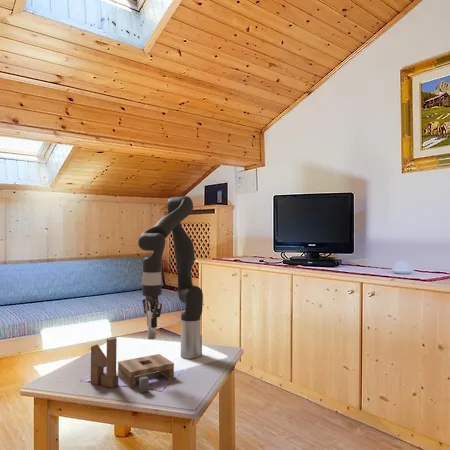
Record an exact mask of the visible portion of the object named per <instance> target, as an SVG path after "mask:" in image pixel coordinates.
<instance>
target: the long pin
mask: <svg viewBox="0 0 450 450" xmlns="http://www.w3.org/2000/svg"><path fill="white" fill-rule="evenodd" d="M153 313H154V312H153ZM156 338H157V327H156V328H151V313H150V312H149V310H148V326H147V340H155V339H156Z"/></svg>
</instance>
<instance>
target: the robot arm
mask: <svg viewBox="0 0 450 450" xmlns="http://www.w3.org/2000/svg"><path fill="white" fill-rule="evenodd" d="M166 204H167V205H166V207H167V213H168V214H166V215H164V216H162V217H161V218H160V219H159V220H158V221H156V223H155V224H154V226H152V227H150V228H148V229H147V230H145V231H144V232H142V233H141V235H140V236H139V238H138V241H137V242H138V247H139V249H140V250H142V251H147V252H148V251H149V252H150V251H151V252H153V253H152V255H150V256H146V257H144V258H143V260H142V277H141V278H142V279H141V281H142V282H141V286H142V287H141V288H142V291H141V292H142V293H141V294H142V295H143V296H144V297H145V298H144V299H142V300H141V301H142V306H143V312H144V315H145V316H146V326H147V327H148V310H149V312H150V313H151V328H156V329H157V327H158V318H160V317H161V313H162V309H163V303H160V301H159V297H160V296H161V295H162V268H161V267H162V259H163V253H164V251H165V250H164V249H165V247H166V238H167V237H168V236H169V235H170V234H171V232H172V240H173V251H174V259H175V266H176V274H177V275H176V276H177V295H178V299H179V301H180V302H181V303H183V304H185V310H184V311H183V312H182V313H181V314H180V357H181V358H182V359H186V360H189V359H191V360H192V359H198V358H199V357H203V335H202V334H201V325H202V324H201V319H202V318H201V317H202V313H203V306H204V305H203V304H204V294H203V293H204V292H203V289H201V287H200V286H197V285H194V284H193V280H192V269H193V266H194V261H195V258H196V257H195V255H196V253H195V249H194V248H195V247H194V242H193V240H192V239H191V237H190V236H189V235H188V233H187V232H186V231H185V229H184V227H183V225H182V223H181V222H183V220H185V219H186V218H188V217H189V216H190V215H191V214H192V212H193V210H194V202H193V200H192V198H191V197H190V196H187V195H186V196H184V195H183V196H174V197H170V198H168V200H167V203H166ZM153 312H154V313H153Z"/></svg>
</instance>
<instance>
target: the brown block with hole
mask: <svg viewBox="0 0 450 450" xmlns="http://www.w3.org/2000/svg"><path fill="white" fill-rule="evenodd" d="M158 372H159V373H160V374H161V375H162V376H164V377H165V378H167V379H168V380H173V379H175V363H174V362H173V361H171V360H170V359H168V358H166V357H165V356H164V355H162V354H160V353H157V354H152V355H151V354H150V355H147V356H146V355H145V356H140V357H135V358H130V359H125V360H119V361H118V362H117V375H118V379H120V380H121V381H122V382H123V383H124V384H126V386H127V387H129V389H132V388H136V377H138V376H139V377H140V376H143V375H144V376H145V375H149V374H152V373H154V374H155V373H158Z"/></svg>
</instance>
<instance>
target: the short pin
mask: <svg viewBox="0 0 450 450" xmlns="http://www.w3.org/2000/svg"><path fill="white" fill-rule="evenodd" d="M148 393H149V377H148V376H141V377H139V394H142V395H146V394H148Z"/></svg>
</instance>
